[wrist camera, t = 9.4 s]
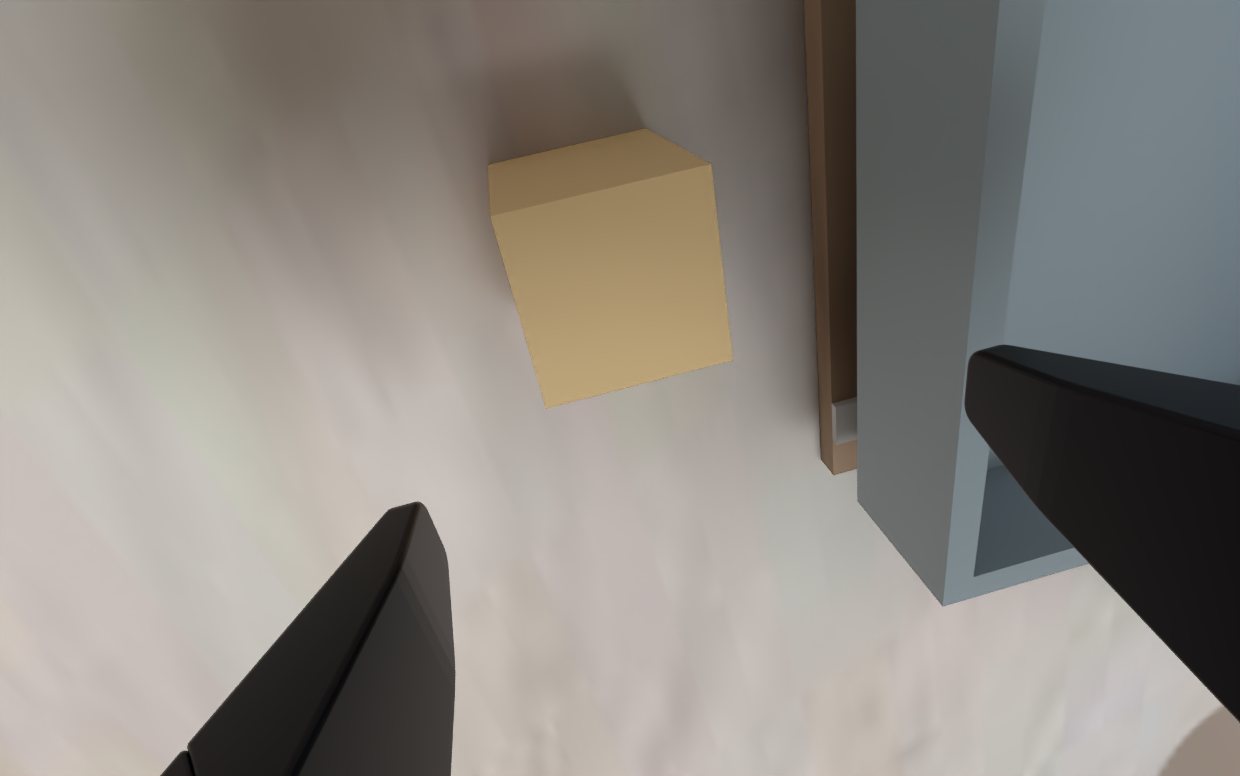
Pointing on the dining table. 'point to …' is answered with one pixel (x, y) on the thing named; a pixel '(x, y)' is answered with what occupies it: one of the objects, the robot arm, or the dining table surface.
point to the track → (834, 220)
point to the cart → (1030, 239)
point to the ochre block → (612, 262)
